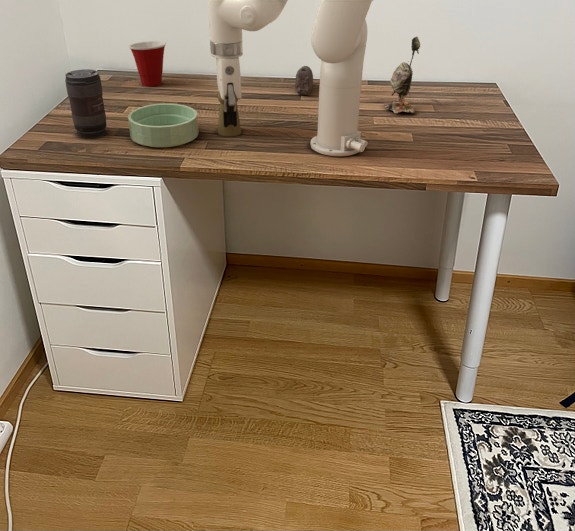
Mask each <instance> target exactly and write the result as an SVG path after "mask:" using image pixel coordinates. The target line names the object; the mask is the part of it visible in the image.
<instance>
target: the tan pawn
mask: <svg viewBox="0 0 575 531" xmlns="http://www.w3.org/2000/svg"><path fill="white" fill-rule="evenodd" d="M226 99H228V96H226ZM235 99H236V111H237V126H236V127H234V126H233V125H228V127H224V118H223V111H224V100H223V99H222V98H221V96H220V92H219V90H218V92H217V100H218V102H219V111H218V123H217V124H218V125H217V134H218V135H220V136H223V137H237V136H240V135H241V134H242V127H241V126H242V125H241V120H240V113H239V108H238V101H239V99H237V97H236V94H235ZM227 103H228V102H227Z"/></svg>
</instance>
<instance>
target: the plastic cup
mask: <svg viewBox="0 0 575 531" xmlns="http://www.w3.org/2000/svg"><path fill="white" fill-rule="evenodd" d="M166 44H167V43H166V42H164V41H158V40H155V41H154V40H153V41H152V40H151V41H150V40H149V41H140V42H135V43H131V44H129V45H128V48H129V49H130V51H131V53H132V56H133V58H134V62H135V66H136V70H137V72H138V75H139V79H140V83H141V84H142V86H144V87H149V88H151V87H152V88H153V87H159V86H160V85H162V82H163V81H162V80H163V69H164V55H165V47H166Z"/></svg>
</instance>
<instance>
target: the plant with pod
mask: <svg viewBox="0 0 575 531" xmlns="http://www.w3.org/2000/svg"><path fill="white" fill-rule="evenodd" d="M420 48H421V42H420V39H419V37H418V36H415V37H413V38H412V39H411V51H412V52H411V59H410V61H408V60H407V62H405V61H403V62H401V63H400V64H399V65H398V66H397V67H396V68H395V69H394V71H393V72H392V75H391V77H390V86H391V88H392V91H393V92H392V93H391V96H392V97H393V96H394V95H395V94H397V96H398V97H397V100H393V101H392V102H391V103H388V104H384V105H383V107H384V108H385V109H386V110H390V111H393V113H394V114H399V113H403V112H405V113H410V114H415V112H416V111H415V108H414V107H413V106H412V105H410V103H409V102H408V101H406V100H405V99H406V97H407V96H408V95H409V93H410V90H411V85H412V80H413V75H414V74H413V73H414V72H413V69H412V62H413V59H414V56H415V53H417V55H418V54H420V52H419V50H420ZM409 62H410V63H409Z"/></svg>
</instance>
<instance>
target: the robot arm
mask: <svg viewBox="0 0 575 531" xmlns="http://www.w3.org/2000/svg"><path fill="white" fill-rule="evenodd" d="M288 1H289V0H207V8H208V9H207V10H208V27H209V28H208V29H209V48H210V56H211V57H213V58H215V68H216V69H215V71H216V83H217V90H218V91H219V92H220V96H221V98H222V99H223V100H224V111H223V118H224V127H228V125H233V126H234V127H236V126H237V111H236V99H235V94H236V97H237V99H238V101H239V100H240V101H241V100H242V98H243V96H242V95H243V94H242V93H243V92H242V78H241V75H242V74H241V65H240V58H241V57H242V56H243V55H244V54H243V53H244V51H243V50H244V49H243V31H247V32H257V31H260V30H262V29H264V28H266V27H267V26H268V25H270V24H272V23H273V22H275V20H276V19H278V18H279V17H280V15H281V13H282V12H283V10H284V8H285V7H286V4H287V2H288ZM373 1H374V0H321V2H320V5H319V8H318V11H317V14H316V17H315V20H314V24H313V26H312V27H313V28H312V29H311V30H312V31H311V36H310V42H311V47H312V50H313V52H314V54H315V55H316V57H317V58H318V59H319V60H320V70H319V88H318V90H319V91H318V110H317V111H318V112H317V134H316V135H315V136H313V137H312V138H311V140H310V148H311V149H312V150H313V151H314V152H316V153H318V154H321V155H325V156H329V157H349V156H353V155H357V154H358V153H363V152H364V151H365V148H366V147H367V146H368V143H369V142H368V140H366V139H362V138H361V134H362V131H361V130H359V117H360V108H361V106H360V105H361V104H360V103H361V94H362V82H363V72H364V71H363V70H364V64H365V63H364V61H365V55H366V48H367V41H368V24H367V20H366V18H367V15H368V13H369V10H370V8H371V5H372V3H373ZM226 96H228V99H226ZM227 102H228V103H227Z"/></svg>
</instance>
